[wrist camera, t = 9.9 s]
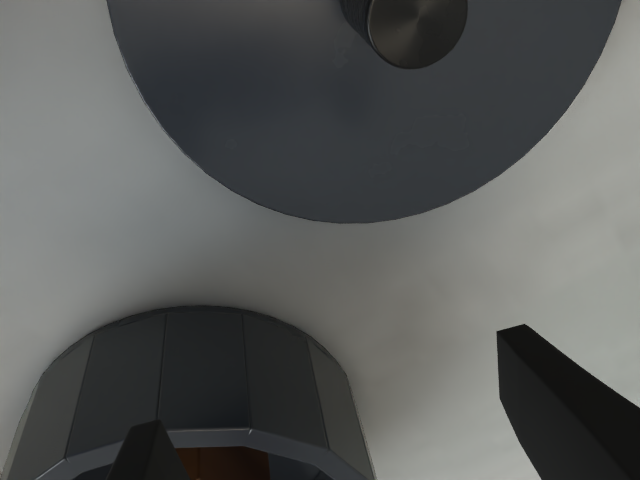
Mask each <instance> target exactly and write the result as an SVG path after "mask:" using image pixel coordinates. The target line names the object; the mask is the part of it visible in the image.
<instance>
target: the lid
mask: <svg viewBox="0 0 640 480" xmlns="http://www.w3.org/2000/svg"><path fill="white" fill-rule="evenodd" d="M106 1H107V5H108V9H109V14H110V18H111V23H112V27H113V31H114V35H115V38H116V41H117V43H118V46H119V49H120V52H121V55H122V57H123V60H124V63H125V66H126V68H127V71H128V72H129V74H130V76H131V78H132V80H133V82H134V84H135V86H136V88H137V90H138V92H139V94H140V96H141V98H142V100H143V102H144V103H145V105H146V106H147V108H148V109H149V110H150V112H151V113H152V115H153V116H154V118H155V119H156V121H157V122H158V124H159V125H160V127H161V128H162V129H163V131H164V132H165V133H166V134H167V135H168V136H169V137H170V139H171V140H172V141H173V142H174V143H175V144H176V145H177V146H178V148H179V149H180V150H181V151H182V152H183V153H184V154H185V155H186V156H187V157H188V158H189V159H191V160H192V161H193V162H194V163H195V164H196V165H197V166H198V167H200V168H201V169H202V170H203V171H204V172H205V173H206V174H208V175H209V176H211V177H212V178H214V179H215V180H217V181H218V182H219V183H221V184H222V185H224V186H225V187H227V188H228V189H230V190H231V191H233V192H235V193H237V194H239V195H241V196H243V197H245V198H247V199H249V200H250V201H252V202H254V203H256V204H258V205H261V206H264V207H267V208H269V209H272V210H275V211H278V212H280V213H283V214H286V215H291V216H295V217H299V218H304V219H308V220H312V221H321V222H331V223H340V224H341V223H373V222H381V221H389V220H396V219H400V218H404V217H408V216H412V215H417V214H421V213H424V212H427V211H429V210H432V209H435V208H438V207H440V206H443V205H446V204H449V203H451V202H453V201H455V200H457V199H459V198H461V197H463V196H465V195H467V194H469V193H471V192H473V191H475V190H477V189H478V188H480V187H481V186H483V185H485V184H486V183H488V182H489V181H491V180H493V179H494V178H496V177H497V176H499V175H500V174H502V173H503V172H504V171H505V170H507V169H508V168H509V167H511V166H512V165H513V164H514V163H516V162H517V161H518V160H520V159H521V158H522V157H523V156H524V155H525V154H526V153H528V152H529V151H530V150H531V149H532V148H533V147H534V146H535V145H536V144H537V143H538V142H539V141H540V140H541V139H542V138H543V137H544V136H545V135H546V134H547V133H548V132H549V131H550V129H551V128H552V127H553V126H554V125H555V123H556V122H557V121H558V120H559V119H560V118H561V116H562V115H563V114H564V113H565V112H566V110H567V109H568V108H569V106H570V105H571V103H572V102H573V100H574V99H575V97H576V96H577V95H578V93H579V92H580V90H581V89H582V87H583V86H584V84H585V83H586V81H587V79H588V77H589V75H590V74H591V72H592V70H593V68H594V66H595V65H596V63H597V61H598V59H599V57H600V56H601V53H602V51H603V49H604V46H605V44H606V42H607V39H608V37H609V35H610V32H611V30H612V28H613V25H614V23H615V20H616V17H617V14H618V10H619V7H620V4H621V1H622V0H106Z"/></svg>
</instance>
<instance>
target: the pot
mask: <svg viewBox="0 0 640 480" xmlns="http://www.w3.org/2000/svg"><path fill="white" fill-rule="evenodd" d="M158 419H160V420H161V422H162V424H163V426H164V428H165V430H166V432H167V434H168V436H169V438H170V440H171V442H172V444H173V446H174V448H196V447H229V446H245V447H249V448H252V449H256V450H260V451H264V452H268V459H269V468H270V478H271V480H377V477H376V474H375V470H374V466H373V463H372V459H371V456H370V452H369V448H368V445H367V441H366V438H365V434H364V430H363V427H362V423H361V420H360V416H359V413H358V410H357V407H356V404H355V400H354V397H353V394H352V390H351V387H350V385H349V382H348V379H347V376H346V374H345V372H344V371H343V370H342V369H341V367H340V366H339V364H338V363H337V361H336V360H335V359H334V358H333V357H332V356H331V355H330V353H329V352H328V351H327V350H326V349H325V348H324V347H323V346H321V345H320V344H319V343H318V342H316V341H315V340H314V339H313V338H311V337H310V336H309V335H307V334H305V333H304V332H302V331H300V330H298V329H297V328H295V327H293V326H291V325H289V324H287V323H284V322H282V321H280V320H277V319H275V318H272V317H269V316H266V315H262V314H259V313H255V312H252V311H246V310H241V309H235V308H229V307H216V306H183V307H174V308H166V309H159V310H154V311H150V312H145V313H141V314H137V315H133V316H130V317H127V318H125V319H122V320H119V321H116V322H114V323H111V324H109V325H107V326H105V327H103V328H101V329H99V330H97V331H95V332H93V333H91V334H89V335H87V336H86V337H84V338H83V339H81V340H80V341H78V342H77V343H75V344H74V345H72V346H71V347H69V348H68V349H67V350H66V351H65V352H64V353H63V354H62V355H60V356H59V357H58V358H57V359H56V360H55V361H54V362H53V363H52V364H51V365H50V367H49V368H48V369H47V370H46V371H45V372H44V373H43V375H42V376H41V378H40V380H39V382H38V383H37V385H36V387H35V388H34V390H33V392H32V395H31V398H30V400H29V403H28V405H27V407H26V409H25V411H24V413H23V415H22V417H21V420H20V422H19V425H18V427H17V430H16V433H15V436H14V439H13V442H12V445H11V448H10V451H9V454H8V457H7V459H6V462H5V465H4V468H3V471H2V474H1V477H0V480H106V478H107V475H108V473H109V471H110V469H111V467H112V465H113V463H114V461H115V458H116V456H117V454H118V452H119V450H120V448H121V445H122V443H123V441H124V439H125V437H126V435H127V432H128V431H129V429H130V428H131V426H135V425H139V424H143V423H147V422H151V421H154V420H158Z"/></svg>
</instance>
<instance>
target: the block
mask: <svg viewBox="0 0 640 480" xmlns="http://www.w3.org/2000/svg"><path fill="white" fill-rule="evenodd" d="M175 450H176V452H177V454H178V456H179V458H180V460H181V462H182V464H183V466H184V468H185V470H186V472H187V474H188V475H189V477H190V479H191V480H271V478H270V468H269V459H268V452H264V451H260V450H256V449H252V448H249V447H245V446H229V447H196V448H175Z"/></svg>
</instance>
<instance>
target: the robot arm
mask: <svg viewBox="0 0 640 480" xmlns="http://www.w3.org/2000/svg"><path fill="white" fill-rule="evenodd" d="M497 351H498V373H499V394H500V400H501V402H502V405H503V407H504V409H505V411H506V414H507V416H508V418H509V421H510V423H511V425H512V427H513V429H514V431H515V434H516V436H517V438H518V440H519V442H520V444H521V446H522V447H523V449H524V451H525V452H526V454H527V456H528V457H529V459H530V461H531V463H532V464H533V466H534V468H535V469H536V471H537V473H538V474H539V476H540V478H541V479H542V480H640V408H639V407H638V406H636V405H635V404H633V403H632V402H630V401H629V400H627V399H626V398H624V397H623V396H621V395H620V394H618V393H617V392H615V391H614V390H613V389H611V388H610V387H608V386H607V385H605V384H604V383H603V382H601V381H600V380H598V379H597V378H595V377H594V376H593V375H591V374H590V373H589V372H587V371H586V370H584V369H583V368H582V367H580V366H579V365H578V364H576V363H575V362H574V361H572V360H571V359H570V358H568V357H567V356H566V355H564V354H563V353H562V352H561V351H559V350H558V349H557V348H555V347H554V346H553V345H552V344H550V343H549V342H548V341H547V340H545V339H544V338H543V337H541V336H540V335H539V334H538V333H536V332H535V331H534V330H533V329H531V328H530V327H529V326H527V325H525V324H523V325H519V326H515V327H511V328H507V329H504V330H500V331H497ZM106 480H191V479H190V477H189V475H188V474H187V472H186V470H185V468H184V466H183V464H182V462H181V460H180V458H179V456H178V454H177V452H176V450H175V448H174V446H173V444H172V442H171V440H170V438H169V436H168V434H167V432H166V430H165V428H164V426H163V424H162V422H161V420H160V419H158V420H154V421H151V422H147V423H143V424H139V425H135V426H131V428H130V429H129V431H128V432H127V435H126V437H125V439H124V441H123V443H122V445H121V448H120V450H119V452H118V454H117V456H116V458H115V461H114V463H113V465H112V467H111V469H110V471H109V473H108V475H107V478H106Z"/></svg>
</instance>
